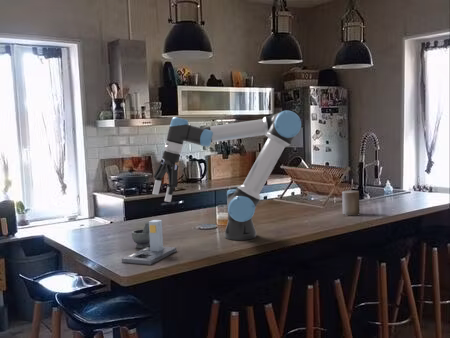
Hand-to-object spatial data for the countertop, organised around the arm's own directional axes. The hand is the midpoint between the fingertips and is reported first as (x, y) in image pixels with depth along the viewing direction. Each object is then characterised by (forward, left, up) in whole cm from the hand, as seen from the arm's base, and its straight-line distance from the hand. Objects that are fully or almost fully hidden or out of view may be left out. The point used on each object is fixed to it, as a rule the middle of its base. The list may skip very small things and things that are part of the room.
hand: (161, 197), depth 217 cm
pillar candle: (-71, -97, -22) cm, 122 cm away
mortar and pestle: (+8, +3, -22) cm, 24 cm away
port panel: (-4, +18, -22) cm, 29 cm away
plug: (-4, +12, -22) cm, 26 cm away
